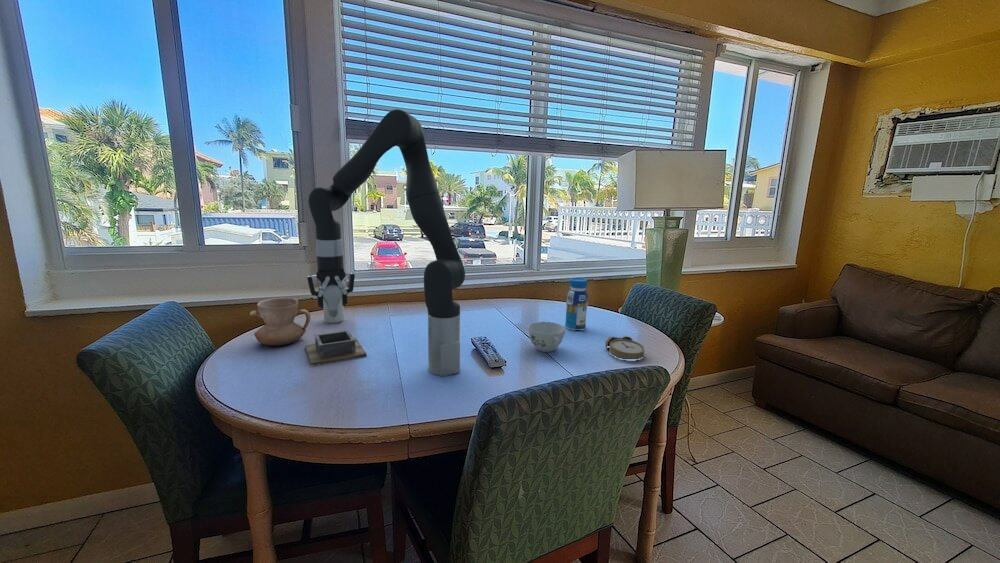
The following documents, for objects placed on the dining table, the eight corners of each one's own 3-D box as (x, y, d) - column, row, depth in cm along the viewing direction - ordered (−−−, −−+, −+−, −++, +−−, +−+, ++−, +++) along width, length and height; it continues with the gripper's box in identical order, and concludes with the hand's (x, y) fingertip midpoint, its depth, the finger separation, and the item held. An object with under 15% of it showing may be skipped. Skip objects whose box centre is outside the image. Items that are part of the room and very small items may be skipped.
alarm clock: (620, 355, 127) (600, 331, 141) (617, 368, 129) (598, 343, 143) (651, 353, 130) (629, 330, 143) (648, 366, 132) (626, 342, 145)
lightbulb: (347, 314, 130) (345, 281, 128) (338, 320, 124) (335, 286, 122) (329, 313, 131) (327, 280, 128) (319, 319, 125) (316, 285, 122)
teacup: (521, 344, 142) (522, 322, 140) (553, 341, 146) (554, 320, 144) (539, 360, 128) (540, 337, 126) (574, 356, 132) (575, 333, 130)
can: (320, 323, 158) (318, 293, 155) (331, 317, 165) (329, 289, 162) (337, 324, 157) (336, 294, 154) (348, 319, 164) (346, 290, 161)
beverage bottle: (564, 323, 166) (567, 276, 162) (585, 325, 165) (588, 277, 160) (564, 330, 158) (568, 280, 153) (586, 332, 156) (590, 282, 152)
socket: (366, 356, 127) (365, 341, 126) (311, 366, 119) (310, 350, 118) (355, 340, 141) (355, 326, 140) (305, 348, 132) (304, 333, 131)
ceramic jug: (246, 351, 128) (243, 309, 125) (258, 335, 142) (255, 297, 139) (308, 347, 134) (306, 306, 131) (313, 333, 147) (312, 295, 144)
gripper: (305, 256, 116) (309, 312, 120) (356, 254, 124) (359, 306, 127) (302, 253, 123) (306, 306, 126) (351, 251, 130) (354, 301, 133)
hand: (333, 306), depth 127 cm, fingers closed on lightbulb, 6 cm apart
